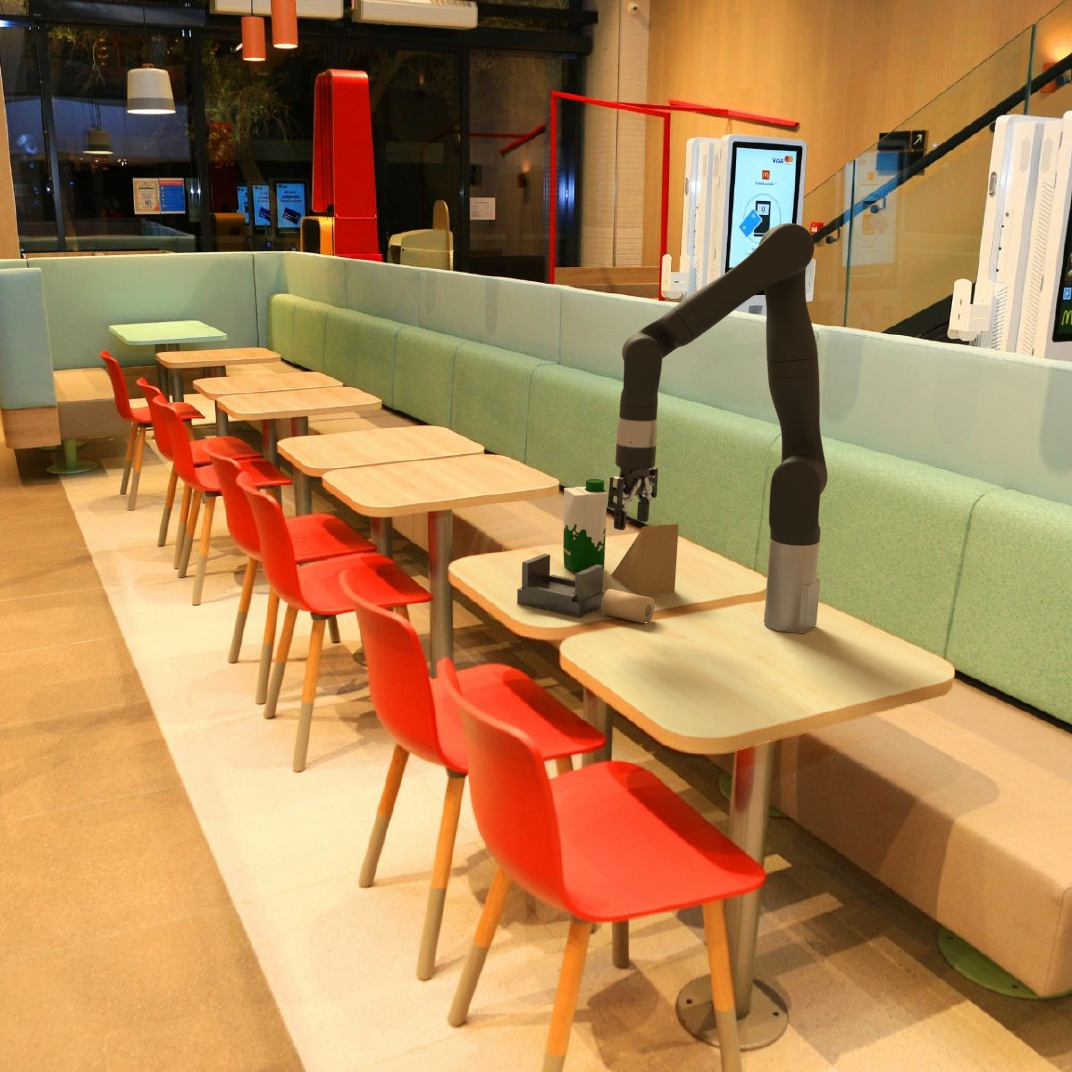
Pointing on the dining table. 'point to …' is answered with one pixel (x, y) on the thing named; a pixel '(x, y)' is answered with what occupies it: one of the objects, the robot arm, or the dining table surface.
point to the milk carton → (585, 525)
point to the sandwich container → (650, 561)
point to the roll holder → (560, 588)
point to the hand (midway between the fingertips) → (631, 525)
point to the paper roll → (627, 606)
